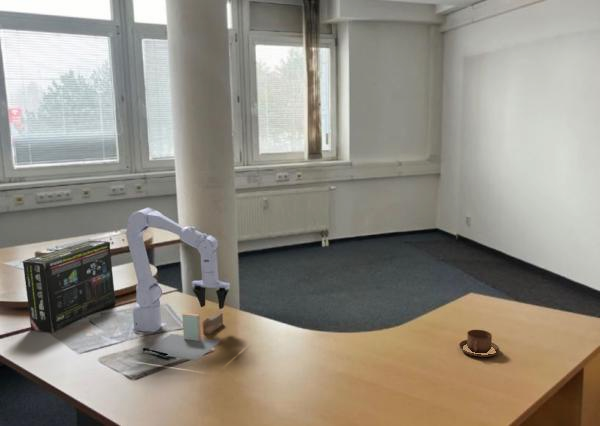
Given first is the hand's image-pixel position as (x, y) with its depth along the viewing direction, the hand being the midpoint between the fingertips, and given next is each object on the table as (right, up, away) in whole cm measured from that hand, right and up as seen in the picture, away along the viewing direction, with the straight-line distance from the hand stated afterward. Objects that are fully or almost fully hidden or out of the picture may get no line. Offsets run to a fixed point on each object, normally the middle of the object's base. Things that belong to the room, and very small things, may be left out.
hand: (212, 307), depth 189 cm
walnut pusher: (0, -9, +1) cm, 9 cm away
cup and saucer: (+89, -11, -21) cm, 92 cm away
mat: (-7, -11, -14) cm, 19 cm away
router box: (-57, -7, +19) cm, 61 cm away
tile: (-5, -10, -8) cm, 14 cm away
